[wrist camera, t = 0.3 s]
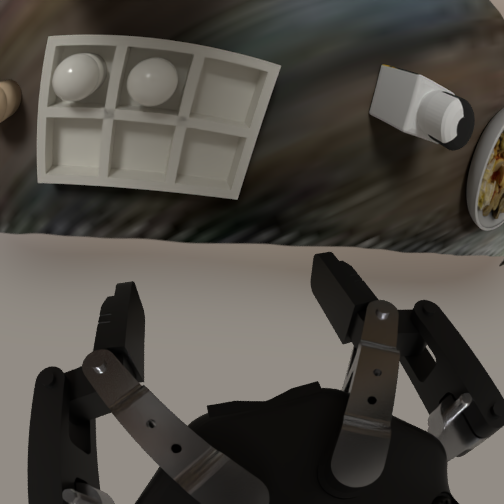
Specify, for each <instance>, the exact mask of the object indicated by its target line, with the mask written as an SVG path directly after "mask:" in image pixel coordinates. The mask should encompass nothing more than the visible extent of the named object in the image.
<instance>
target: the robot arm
mask: <svg viewBox="0 0 504 504" xmlns="http://www.w3.org/2000/svg"><path fill="white" fill-rule="evenodd" d="M311 288H312V292H313V294H314V296H315V298H316V299H317V301H318V303H319V304H320V306H321V307H322V309H323V311H324V313H325V314H326V316H327V318H328V320H329V321H330V323H331V325H332V326H333V328H334V330H335V332H336V333H337V335H338V337H339V338H340V340H341V342H342V344H346V343H350V342H352V343H353V345H354V347H353V350H352V354H351V358H350V362H349V366H348V370H347V373H346V377H345V381H344V384H343V387H342V390H337V389H331V388H321V387H320V384H319V382H318V381H317V382H313V383H310V384H306V385H302V386H299V387H295V388H292V389H290V390H288V391H286V392H284V393H282V394H280V395H278V396H276V397H274V398H272V399H270V400H268V401H232V402H226V403H221V404H215V405H208V406H207V409H208V413H207V414H204V415H202V416H200V417H199V418H197V419H195V420H194V421H192V422H191V423H190V424H189V425H188V426H187V425H186V424H184V423H183V422H182V421H181V420H180V419H179V418H178V417H177V416H175V414H173V413H172V412H171V411H170V410H169V409H168V408H167V407H166V406H165V405H164V404H163V403H162V402H161V401H160V400H159V399H158V398H157V397H156V396H155V395H154V394H153V393H152V392H151V391H150V390H149V389H148V388H147V387H145V386H144V385H143V386H141V385H140V383H139V382H144V337H145V315H144V310H143V306H142V303H141V300H140V298H139V295H138V291H137V289H136V285H135V283H134V282H133V281H132V282H125V283H119V284H117V285H116V290H115V295H114V296H110V297H107V299H106V300H105V301H104V303H103V304H102V307H101V311H100V317H99V321H98V322H99V324H98V326H97V332H96V337H95V343H94V349H93V352H92V353H90V354H89V355H87V357H86V358H85V359H84V361H83V364H82V366H81V367H79V368H77V369H74V370H71V371H68V372H66V373H63V372H62V370H61V369H60V368H57V367H48V368H45V369H44V370H42V371H41V372H40V374H39V375H38V376H37V379H36V383H35V388H34V395H33V402H32V410H31V419H30V429H29V443H28V444H29V445H28V499H29V504H115V503H114V501H113V500H112V498H111V497H110V496H109V495H108V494H106V493H105V492H103V491H101V490H100V484H99V474H98V464H97V449H96V420H95V419H96V418H97V417H100V416H103V415H106V414H108V413H111V412H112V414H113V415H114V416H115V417H116V419H117V420H118V421H119V422H120V423H121V425H122V426H123V427H124V428H125V429H126V431H127V432H128V433H129V434H130V435H131V436H132V437H133V438H134V440H135V441H136V442H137V443H138V444H139V445H140V446H141V447H142V448H143V449H144V451H145V452H146V453H147V454H148V455H149V456H150V457H151V458H152V459H153V460H154V461H155V462H156V463H157V464H158V465H159V466H160V467H159V468H158V470H157V471H156V473H155V475H154V476H153V477H152V479H151V481H150V482H149V483H148V485H147V486H146V488H145V489H144V491H143V492H142V494H141V496H140V497H139V498H138V500H137V501H136V503H135V504H459V503H458V502H457V501H456V500H455V499H454V498H453V497H452V495H451V493H450V490H449V486H448V479H447V462H448V461H450V460H451V459H453V458H454V457H461V456H463V455H465V454H466V453H468V452H469V451H471V450H472V449H474V448H475V447H476V446H478V445H479V444H480V443H482V442H483V441H485V440H486V439H487V438H489V437H490V436H491V435H493V434H494V433H495V432H496V431H498V430H499V429H500V428H501V427H502V426H504V399H503V397H502V395H501V394H500V392H499V390H498V389H497V387H496V386H495V384H494V383H493V381H492V379H491V378H490V376H489V375H488V373H487V372H486V370H485V369H484V367H483V366H482V364H481V363H480V361H479V360H478V359H477V357H476V356H475V354H474V353H473V351H472V350H471V349H470V347H469V346H468V344H467V343H466V342H465V340H464V339H463V338H462V336H461V335H460V334H459V332H458V331H457V330H456V328H455V327H454V326H453V324H452V323H451V322H450V321H449V319H448V318H447V317H446V315H445V314H444V313H443V312H442V310H441V309H440V308H439V307H438V306H437V305H436V304H435V303H433V302H431V301H427V300H421V301H418V302H417V303H416V304H415V306H414V308H413V310H397V308H396V307H395V306H394V305H393V304H391V303H390V302H387V301H384V300H378V298H377V297H376V296H375V295H374V293H373V292H372V291H371V290H370V288H369V287H368V286H367V285H366V283H365V282H364V281H362V278H361V277H360V276H359V275H358V274H357V272H356V271H355V270H354V269H353V267H352V266H350V265H349V264H347V263H346V262H344V261H339V260H338V259H337V258H336V257H335V256H334V254H333V253H332V252H326V253H320V254H315V255H314V258H313V267H312V275H311ZM426 345H428V346H429V348H430V349H431V350H432V352H433V354H434V355H435V358H436V362H435V361H434V359H433V357H432V356H431V354H430V353H429V351H428V350H427V348H426ZM399 361H400V362H401V364H402V366H403V368H404V369H405V371H406V373H407V375H408V376H409V378H410V380H411V382H412V384H413V385H414V387H415V389H416V391H417V392H418V394H419V396H420V398H421V400H422V402H423V404H424V405H425V407H426V409H427V411H428V413H429V415H430V416H429V418H428V426H429V428H428V432H426V431H424V430H422V429H420V428H418V427H416V426H413V425H411V424H409V423H407V422H405V421H403V420H401V419H399V418H397V417H394V416H392V412H393V406H394V399H395V393H396V385H397V378H398V369H399Z"/></svg>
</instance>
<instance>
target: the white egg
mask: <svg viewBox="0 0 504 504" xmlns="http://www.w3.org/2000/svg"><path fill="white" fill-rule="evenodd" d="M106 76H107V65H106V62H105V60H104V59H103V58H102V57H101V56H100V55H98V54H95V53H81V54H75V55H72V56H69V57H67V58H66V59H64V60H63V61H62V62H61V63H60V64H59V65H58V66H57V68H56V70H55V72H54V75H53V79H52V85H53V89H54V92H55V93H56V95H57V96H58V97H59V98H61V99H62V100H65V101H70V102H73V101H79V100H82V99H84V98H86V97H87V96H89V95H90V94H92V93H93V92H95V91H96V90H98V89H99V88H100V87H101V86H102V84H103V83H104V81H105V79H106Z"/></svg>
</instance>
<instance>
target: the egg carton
mask: <svg viewBox="0 0 504 504" xmlns="http://www.w3.org/2000/svg"><path fill="white" fill-rule="evenodd" d="M81 53H95V54H98V55H100V56H101V57H102V58H103V59H104V60H105V62H106V65H107V76H106V79H105V81H104V83H103V84H102V86H101V87H100V88H99V89H98V90H96V91H95V92H93V93H92V94H90V95H89V96H87V97H86V98H84V99H82V100H79V101H73V102H70V101H65V100H62V99H61V98H59V97H58V96H57V95H56V93H55V92H54V89H53V85H52V79H53V75H54V72H55V70H56V68H57V66H58V65H59V64H60V63H61V62H62V61H63V60H64V59H66V58H67V57H69V56H72V55H75V54H81ZM153 57H160V58H164V59H167V60H168V61H170V62H171V63H172V64H173V65H174V67H175V69H176V71H177V75H178V84H177V88H176V90H175V92H174V94H173V95H172V96H171V97H170V98H169V99H168V100H167V101H165V102H164V103H162V104H159V105H156V106H144V105H140V104H138V103H137V102H135V101H134V100H133V99H132V98H131V97H130V95H129V93H128V90H127V79H128V76H129V74H130V72H131V70H132V69H133V68H134V67H135V66H136V65H137V64H138V63H140V62H141V61H144V60H146V59H149V58H153ZM280 68H281V66H280V65H277V64H274V63H271V62H267V61H264V60H261V59H257V58H254V57H250V56H246V55H242V54H238V53H234V52H230V51H226V50H222V49H217V48H212V47H207V46H202V45H197V44H191V43H185V42H179V41H172V40H165V39H157V38H147V37H136V36H121V35H63V36H49V37H48V42H47V46H46V52H45V57H44V63H43V70H42V77H41V85H40V95H39V106H38V122H37V175H38V183H56V184H76V185H93V186H108V187H121V188H133V189H145V190H156V191H166V192H176V193H185V194H194V195H203V196H212V197H220V198H228V199H236V200H238V196H239V193H240V190H241V187H242V184H243V180H244V177H245V174H246V171H247V168H248V164H249V161H250V158H251V155H252V152H253V149H254V146H255V142H256V139H257V136H258V133H259V130H260V127H261V124H262V121H263V118H264V115H265V112H266V109H267V106H268V103H269V100H270V97H271V94H272V91H273V88H274V85H275V82H276V79H277V76H278V74H279V71H280Z"/></svg>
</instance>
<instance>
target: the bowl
mask: <svg viewBox="0 0 504 504" xmlns="http://www.w3.org/2000/svg"><path fill="white" fill-rule="evenodd" d="M466 198H467V206H468V210H469V213H470V215H471V218H472V219H473V221H474V222H475V224H476V225H477V226H478V227H479V228H481V229H482V230H486V231H488V230H492V229H495V228H497V227H498V226H500V225H501V224H503V223H504V108H503V109H502V110H500V111H499V112H498V113H497V114H496V115H495V116H494V117H493V118H492V119H491V121H490V122H489V123H488V125H487V126H486V128H485V130H484V132H483V133H482V135H481V137H480V140H479V142H478V144H477V146H476V149H475V152H474V155H473V158H472V161H471V165H470V169H469V173H468V179H467V189H466Z"/></svg>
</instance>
